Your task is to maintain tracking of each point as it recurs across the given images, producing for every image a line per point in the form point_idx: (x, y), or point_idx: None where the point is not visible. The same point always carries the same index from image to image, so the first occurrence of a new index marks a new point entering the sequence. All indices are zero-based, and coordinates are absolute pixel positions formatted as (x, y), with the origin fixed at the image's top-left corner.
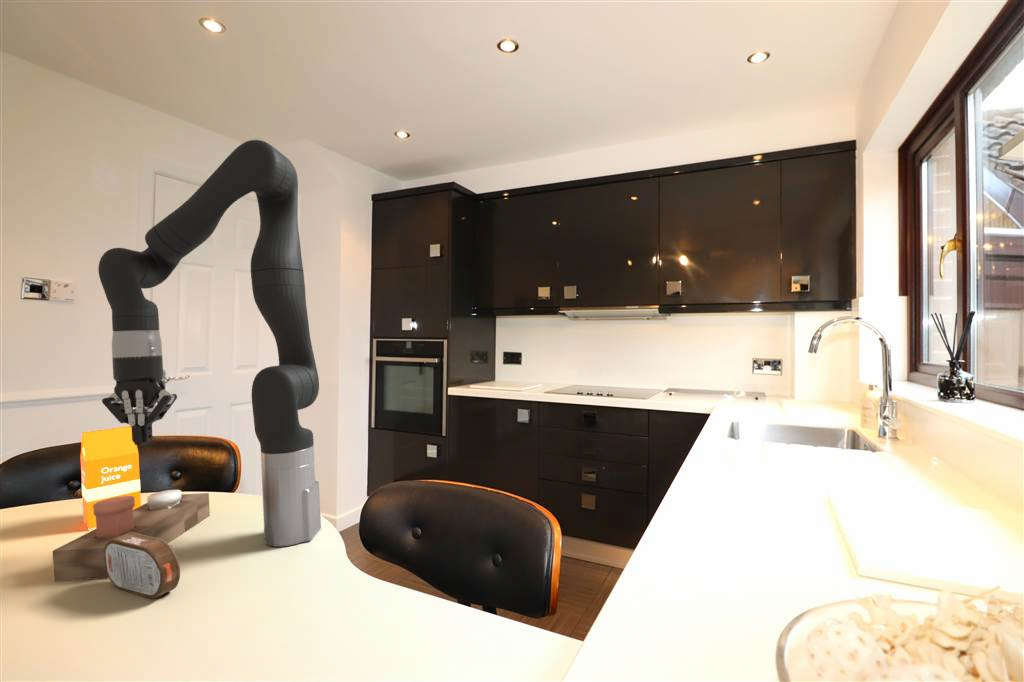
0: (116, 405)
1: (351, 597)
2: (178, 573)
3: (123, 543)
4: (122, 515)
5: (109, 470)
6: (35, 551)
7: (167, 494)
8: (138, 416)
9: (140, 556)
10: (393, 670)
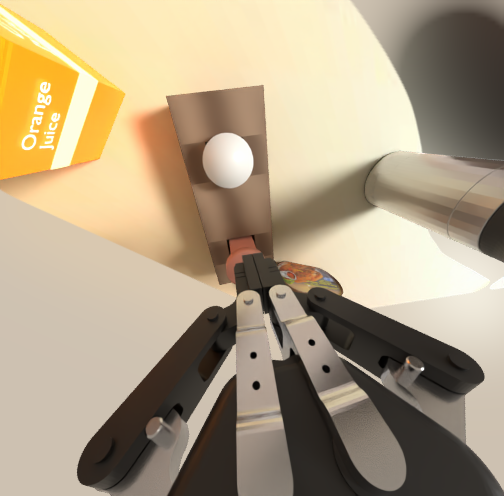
0: (184, 414)
1: (424, 262)
2: (337, 281)
3: None
4: None
5: (30, 131)
6: (113, 222)
7: (235, 164)
8: (279, 343)
9: None
10: (430, 298)
